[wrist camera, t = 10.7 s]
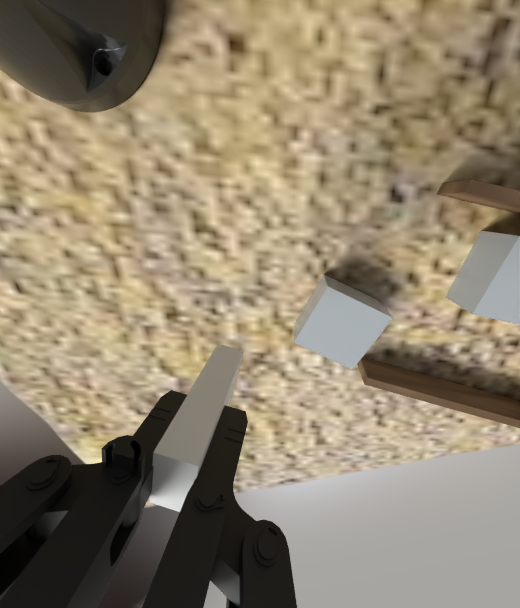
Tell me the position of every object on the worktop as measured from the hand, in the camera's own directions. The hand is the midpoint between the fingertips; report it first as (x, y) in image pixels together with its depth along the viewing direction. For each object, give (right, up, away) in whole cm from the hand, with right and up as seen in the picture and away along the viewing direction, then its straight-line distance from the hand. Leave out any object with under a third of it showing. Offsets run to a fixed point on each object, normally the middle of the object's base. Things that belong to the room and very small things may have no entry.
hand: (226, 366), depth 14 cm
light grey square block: (+22, +6, +7) cm, 24 cm away
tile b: (+10, +3, +11) cm, 15 cm away
